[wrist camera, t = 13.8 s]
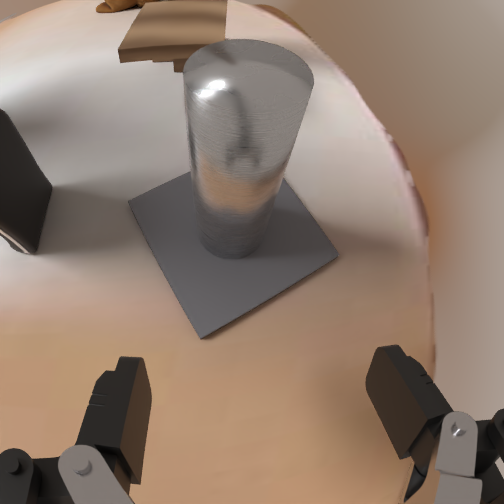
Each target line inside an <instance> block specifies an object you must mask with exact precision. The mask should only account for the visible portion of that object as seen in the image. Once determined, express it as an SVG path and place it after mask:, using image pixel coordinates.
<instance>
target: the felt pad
mask: <svg viewBox="0 0 504 504" xmlns="http://www.w3.org/2000/svg"><path fill="white" fill-rule="evenodd" d="M128 203H129V205H130V207H131V209H132V211H133V213H134V215H135V217H136V220H137V222H138V224H139V226H140V228H141V230H142V232H143V234H144V236H145V238H146V240H147V242H148V244H149V246H150V248H151V250H152V252H153V254H154V256H155V258H156V260H157V262H158V264H159V266H160V267H161V269H162V271H163V273H164V275H165V277H166V279H167V281H168V283H169V284H170V286H171V288H172V290H173V292H174V294H175V295H176V297H177V299H178V301H179V303H180V304H181V306H182V308H183V310H184V312H185V313H186V315H187V317H188V319H189V320H190V322H191V324H192V326H193V327H194V329H195V331H196V332H197V334H198V336H199V337H200V339H202V338H204V337H206V336H207V335H209V334H211V333H213V332H214V331H216V330H218V329H220V328H221V327H223V326H225V325H227V324H228V323H230V322H232V321H234V320H235V319H237V318H239V317H240V316H242V315H244V314H246V313H247V312H249V311H251V310H252V309H254V308H256V307H257V306H259V305H261V304H262V303H264V302H266V301H267V300H269V299H271V298H272V297H274V296H276V295H277V294H279V293H281V292H282V291H284V290H286V289H287V288H289V287H290V286H292V285H294V284H295V283H297V282H299V281H300V280H302V279H303V278H305V277H307V276H308V275H310V274H311V273H313V272H315V271H316V270H318V269H319V268H321V267H323V266H324V265H326V264H327V263H329V262H330V261H332V260H334V259H335V258H337V257H338V256H339V253H338V252H337V250H336V249H335V247H334V246H333V245H332V243H331V242H330V240H329V239H328V238H327V236H326V235H325V234H324V232H323V231H322V229H321V228H320V227H319V225H318V224H317V222H316V221H315V220H314V218H313V217H312V216H311V214H310V213H309V212H308V210H307V209H306V208H305V206H304V205H303V204H302V202H301V201H300V200H299V198H298V197H297V196H296V194H295V193H294V192H293V190H292V189H291V188H290V186H289V185H288V184H287V183H286V181H285V180H284V179H282V182H281V185H280V188H279V191H278V194H277V197H276V200H275V203H274V206H273V209H272V212H271V215H270V218H269V221H268V224H267V227H266V230H265V233H264V236H263V239H262V241H261V243H260V245H259V246H258V248H257V249H256V250H255V251H254V252H252V253H251V254H249V255H248V256H245V257H243V258H239V259H223V258H220V257H217V256H215V255H213V254H211V253H210V252H208V251H207V250H206V249H205V248H204V247H203V245H202V244H201V242H200V240H199V238H198V234H197V227H196V218H195V209H194V200H193V190H192V180H191V171H190V172H188V173H186V174H184V175H182V176H179V177H177V178H175V179H173V180H171V181H169V182H166V183H164V184H162V185H160V186H158V187H156V188H154V189H152V190H150V191H148V192H146V193H144V194H142V195H140V196H138V197H136V198H134V199H132V200H130V201H128Z"/></svg>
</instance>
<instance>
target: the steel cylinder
mask: <svg viewBox="0 0 504 504" xmlns="http://www.w3.org/2000/svg"><path fill="white" fill-rule="evenodd" d="M183 78H184V95H185V110H186V123H187V136H188V148H189V159H190V170H191V180H192V190H193V200H194V209H195V218H196V227H197V234H198V238H199V240H200V242H201V244H202V245H203V247H204V248H205V249H206V250H207V251H208V252H210V253H211V254H213V255H215V256H217V257H220V258H223V259H239V258H243V257H245V256H248V255H249V254H251V253H252V252H254V251H255V250H256V249H257V248H258V246H259V245H260V243H261V241H262V239H263V236H264V233H265V230H266V227H267V224H268V221H269V218H270V215H271V212H272V209H273V206H274V203H275V200H276V197H277V194H278V191H279V188H280V185H281V182H282V179H283V176H284V173H285V170H286V167H287V164H288V161H289V158H290V155H291V152H292V149H293V146H294V143H295V140H296V137H297V134H298V131H299V128H300V125H301V122H302V119H303V116H304V113H305V110H306V107H307V104H308V101H309V98H310V95H311V92H312V89H313V85H314V78H313V74H312V72H311V70H310V68H309V67H308V65H307V64H306V63H305V62H304V61H303V60H302V59H301V58H300V57H298V56H297V55H296V54H294V53H292V52H291V51H289V50H287V49H285V48H283V47H280V46H278V45H275V44H272V43H268V42H264V41H258V40H249V39H233V40H225V41H219V42H216V43H212V44H209V45H207V46H205V47H203V48H201V49H199V50H197V51H196V52H195V53H193V54H192V55H191V56H190V57H189V58H188V60H187V61H186V63H185V66H184V70H183Z"/></svg>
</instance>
